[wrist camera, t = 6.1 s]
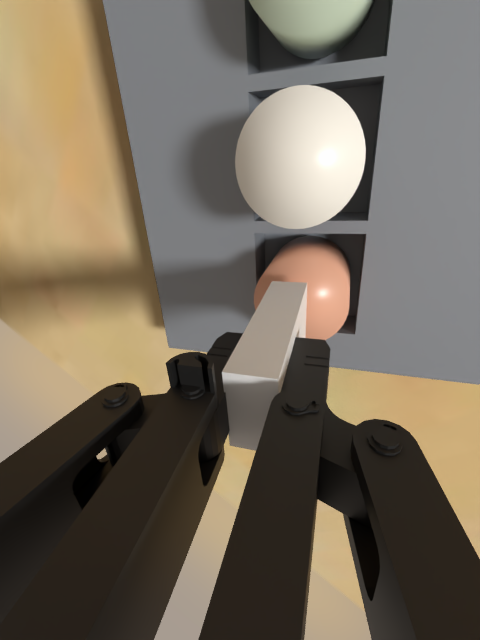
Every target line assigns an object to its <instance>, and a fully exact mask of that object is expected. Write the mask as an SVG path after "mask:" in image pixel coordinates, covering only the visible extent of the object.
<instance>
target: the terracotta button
mask: <svg viewBox="0 0 480 640" xmlns="http://www.w3.org/2000/svg"><path fill="white" fill-rule="evenodd" d="M272 281H281V282H304V283H307V308H306V338H310V339H321V340H326V339H328V338H330V337H332V336H333V335H334V334H335V333H337V332H338V331H339V329H340V328H341V327H342V326H343V324H344V322H345V320H346V318H347V315H348V312H349V300H350V265H349V262H348V259H347V257H346V255H345V254H344V252H343V251H342V250H341V249H340V248H339V247H338V246H337V245H336V244H335V243H333V242H332V241H330V240H328V239H325V238H322V237H318V236H304V237H299V238H296V239H294V240H292V241H290V242H288V243H287V244H285V245H284V246H283V247H282V248H281V249H280V250H279V252H278V253H277V254H276V256H275V257H274V259H273V260H272V262H271V263H270V265H269V266H268V267H267V269H266V270H265V272H264V273H263V275H262V276H261V278H260V279H259V281H258V283H257V285H256V288H255V293H254V306H255V310H256V309H257V307H258V306H259V304H260V302H261V300H262V298H263V296H264V295H265V293H266V291H267V289H268V287H269V286H270V284H271V282H272Z"/></svg>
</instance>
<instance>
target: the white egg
mask: <svg viewBox="0 0 480 640" xmlns="http://www.w3.org/2000/svg"><path fill="white" fill-rule="evenodd" d="M365 156H366V147H365V138H364V134H363V130H362V127H361V125H360V122H359V120H358V118H357V116H356V114H355V112H354V111H353V110H352V108H351V107H350V106H349V105H348V104H347V103H346V102H345V101H344V100H343V99H342V98H341V97H339V96H338V95H337V94H335V93H334V92H332V91H329V90H327V89H325V88H322V87H318V86H312V85H297V86H292V87H288V88H285V89H282V90H280V91H278V92H276V93H274V94H272V95H270V96H269V97H268V98H266V99H265V100H264V101H262V102H261V103H260V104H259V105H258V106H257V107H256V108H255V110H254V111H253V112H252V113H251V115H250V116H249V118H248V119H247V121H246V122H245V124H244V126H243V129H242V131H241V133H240V136H239V139H238V143H237V148H236V155H235V169H236V177H237V181H238V185H239V187H240V190H241V193H242V195H243V197H244V198H245V200H246V202H247V203H248V205H249V206H250V207H251V208H252V209H253V211H254V212H255V213H256V214H258V215H259V216H260V217H261V218H263V219H264V220H266V221H267V222H269V223H271V224H273V225H276V226H279V227H283V228H287V229H304V228H309V227H313V226H316V225H319V224H321V223H323V222H325V221H327V220H329V219H330V218H332V217H333V216H335V215H336V214H337V213H338V212H340V211H341V210H342V209H343V208H344V206H345V205H346V204H347V203H348V202H349V200H350V199H351V198H352V196H353V195H354V193H355V191H356V189H357V187H358V185H359V183H360V180H361V178H362V174H363V171H364V165H365Z"/></svg>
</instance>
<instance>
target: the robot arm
mask: <svg viewBox="0 0 480 640" xmlns="http://www.w3.org/2000/svg"><path fill="white" fill-rule="evenodd" d="M306 308H307V283H304V282H281V281H272V282H271V284H270V286H269V287H268V289H267V291H266V293H265V295H264V296H263V298H262V300H261V302H260V304H259V306H258V307H257V309H256V311H255V313H254V315H253V316H252V318H251V320H250V322H249V324H248V325H247V327H246V329H245V331H244V333H234V332H226V333H224V334H223V335H221V336H220V337H218V338H217V339H216V341H215V342H214V344H213V345H212V347H211V348H210V350H209V351H208V353H207V355H206V354H204V353H200V352H188V353H183V354H179V355H177V356H175V357H173V358H171V359H170V360H169V361H168V362H166V366H167V371H168V376H169V381H170V386H171V388H170V389H169V390H168V392H167V393H165V394H157V395H146V396H141V393H140V390H139V387H137V386H136V385H134V384H131V383H117V384H114V385H111V386H108V387H106V388H104V389H102V390H101V391H99V392H98V393H96V394H95V395H93V396H92V397H91V398H89V399H88V400H87V401H85V402H84V403H82V404H81V405H80V406H78V407H77V408H76V409H74V410H73V411H71V412H70V413H69V414H67V415H66V416H65V417H63V418H62V419H60V420H59V421H58V422H56V423H55V424H53V425H52V426H51V427H50V428H48V429H47V430H45V431H44V432H42V433H41V434H40V435H38V436H37V437H36V438H34V439H33V440H31V441H30V442H29V443H27V444H26V445H25V446H23V447H22V448H20V449H19V450H18V451H16V452H15V453H14V454H12V455H11V456H9V457H8V458H7V459H5V460H4V461H2V462H1V463H0V640H154V638H155V635H156V633H157V630H158V627H159V625H160V622H161V620H162V617H163V615H164V612H165V610H166V607H167V604H168V602H169V599H170V597H171V594H172V592H173V589H174V587H175V584H176V581H177V579H178V576H179V573H180V571H181V569H182V566H183V564H184V561H185V558H186V556H187V553H188V551H189V548H190V546H191V543H192V541H193V538H194V535H195V533H196V530H197V528H198V525H199V523H200V520H201V517H202V515H203V512H204V510H205V507H206V505H207V502H208V500H209V497H210V494H211V492H212V489H213V487H214V484H215V482H216V479H217V476H218V474H219V471H220V469H221V466H222V464H223V461H224V455H225V453H224V443H225V440H226V438H227V435H228V433H229V442H230V446H235V447H240V448H245V449H251V450H256V453H255V456H254V460H253V463H252V466H251V470H250V473H249V476H248V479H247V483H246V486H245V489H244V492H243V496H242V499H241V502H240V506H239V509H238V512H237V515H236V519H235V522H234V525H233V528H232V532H231V535H230V538H229V542H228V545H227V548H226V551H225V555H224V558H223V561H222V564H221V568H220V571H219V574H218V578H217V581H216V584H215V587H214V591H213V594H212V597H211V600H210V604H209V607H208V610H207V614H206V617H205V620H204V624H203V627H202V630H201V633H200V637H199V640H304V635H305V624H306V614H307V603H308V593H309V582H310V572H311V561H312V551H313V540H314V530H315V519H316V509H317V499H319V500H320V501H322V502H324V503H326V504H327V505H329V506H331V507H333V508H334V509H336V510H338V511H340V512H341V513H343V516H344V521H345V525H346V529H347V534H348V538H349V542H350V547H351V551H352V556H353V560H354V564H355V569H356V573H357V577H358V582H359V586H360V590H361V595H362V599H363V603H364V608H365V612H366V617H367V621H368V625H369V630H370V634H371V638H372V640H480V559H479V557H478V555H477V553H476V552H475V550H474V548H473V546H472V544H471V542H470V540H469V538H468V537H467V535H466V533H465V531H464V529H463V527H462V525H461V524H460V522H459V520H458V518H457V516H456V514H455V512H454V510H453V509H452V507H451V505H450V503H449V501H448V499H447V497H446V495H445V494H444V492H443V490H442V488H441V486H440V484H439V482H438V480H437V479H436V477H435V475H434V473H433V471H432V469H431V467H430V465H429V464H428V462H427V460H426V458H425V456H424V454H423V452H422V451H421V449H420V447H419V445H418V443H417V441H416V440H415V439H414V437H413V436H412V435H411V434H410V432H408V431H407V430H405V429H404V428H402V427H401V426H400V425H397V424H395V423H392V422H390V421H387V420H378V419H373V420H367V421H364V422H362V423H360V424H359V425H357V426H355V425H353V424H350V423H348V422H346V421H344V420H342V419H340V418H338V417H337V416H336V415H334V414H333V413H332V411H331V410H330V409H329V408H328V405H327V403H326V399H327V388H328V375H329V362H330V347H329V345H328V344H327V342H326V341H325V340H321V339H310V338H306ZM104 448H105V449H106V452H107V455H106V456H105V457H103V458H102V459H97V457H96V455H98V454H99V453H100V452H101V451H102V450H103V449H104Z"/></svg>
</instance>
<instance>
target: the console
mask: <svg viewBox="0 0 480 640" xmlns="http://www.w3.org/2000/svg"><path fill="white" fill-rule="evenodd" d="M103 5H104V10H105V15H106V20H107V26H108V31H109V36H110V41H111V47H112V52H113V57H114V62H115V68H116V73H117V78H118V83H119V89H120V94H121V99H122V104H123V110H124V115H125V120H126V125H127V131H128V136H129V141H130V146H131V152H132V157H133V162H134V167H135V173H136V178H137V183H138V188H139V194H140V199H141V204H142V209H143V215H144V220H145V225H146V230H147V236H148V241H149V246H150V251H151V257H152V262H153V267H154V272H155V278H156V283H157V288H158V293H159V299H160V304H161V309H162V314H163V320H164V325H165V330H166V335H167V341H168V346H169V348H177V349H186V350H194V351H202V352H208V351H209V350H210V348H211V347H212V345H213V344H214V342H215V341H216V339H217V338H218V337H220V336H221V335H223V334H224V333H226V332H234V333H244V331H245V329H246V327H247V325H248V324H249V322H250V320H251V318H252V316H253V315H254V313H255V311H256V310H255V306H254V293H255V288H256V285H257V283H258V281H259V279H260V278H261V276H262V275H263V273H264V272H265V270H266V269H267V267H268V266H269V265H270V263H271V262H272V260H273V259H274V257H275V256H276V254H277V253H278V252H279V250H280V249H281V248H282V247H283V246H284V245H285V244H287V243H288V242H290V241H292V240H294V239H296V238H299V237H304V236H318V237H322V238H325V239H328V240H330V241H332V242H333V243H335V244H336V245H337V246H338V247H339V248H340V249H341V250H342V251H343V252H344V254H345V255H346V257H347V259H348V262H349V265H350V300H349V312H348V315H347V318H346V320H345V322H344V324H343V326H342V327H341V328H340V329H339V331H338V332H337V333H335V334H334V335H333V336H332V337H330V338H328V339H326V340H325V341H326V342H327V344H328V345H329V347H330V362H329V367H336V368H345V369H353V370H361V371H370V372H378V373H386V374H395V375H403V376H411V377H420V378H428V379H437V380H445V381H453V382H462V383H470V384H478V385H479V384H480V0H374V3H373V6H372V9H371V11H370V13H369V15H368V17H367V19H366V21H365V23H364V24H363V26H362V27H361V29H360V30H359V32H358V33H357V34H356V35H355V36H354V38H353V39H352V40H351V41H350V42H349V43H347V44H346V45H345V46H344V47H343V48H341V49H340V50H338V51H337V52H335V53H333V54H331V55H329V56H326V57H323V58H318V59H305V58H301V57H298V56H295V55H293V54H292V53H290V52H289V51H287V50H286V49H285V48H284V47H283V46H282V45H281V44H280V43H279V41H278V40H277V39H276V37H275V36H274V35H273V33H272V32H271V31H270V30H269V28H268V27H267V26H266V24H265V23H264V22H263V20H262V19H261V18H260V17H259V15H258V14H257V13H256V11H255V10H254V9H253V7H252V5H251V4H250V2H249V0H103ZM297 85H312V86H318V87H322V88H325V89H327V90H329V91H332V92H334V93H335V94H337V95H338V96H339V97H341V98H342V99H343V100H344V101H345V102H346V103H347V104H348V105H349V106H350V107H351V108H352V110H353V111H354V112H355V114H356V116H357V118H358V120H359V122H360V125H361V127H362V130H363V134H364V138H365V147H366V156H365V165H364V171H363V174H362V178H361V180H360V183H359V185H358V187H357V189H356V191H355V193H354V195H353V196H352V198H351V199H350V200H349V202H348V203H347V204H346V205H345V206H344V208H343V209H342V210H341V211H340V212H338V213H337V214H336V215H335V216H333V217H332V218H330V219H329V220H327V221H325V222H323V223H321V224H319V225H316V226H313V227H309V228H304V229H287V228H283V227H279V226H276V225H273V224H271V223H269V222H267V221H266V220H264V219H263V218H261V217H260V216H259V215H258V214H256V213H255V212H254V211H253V209H252V208H251V207H250V206H249V205H248V203H247V202H246V200H245V198H244V197H243V195H242V193H241V190H240V187H239V185H238V181H237V177H236V169H235V155H236V148H237V143H238V139H239V136H240V133H241V131H242V129H243V126H244V124H245V122H246V121H247V119H248V118H249V116H250V115H251V113H252V112H253V111H254V110H255V108H256V107H257V106H258V105H259V104H260V103H261V102H262V101H264V100H265V99H266V98H268V97H269V96H270V95H272V94H274V93H276V92H278V91H280V90H282V89H285V88H288V87H292V86H297Z"/></svg>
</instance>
